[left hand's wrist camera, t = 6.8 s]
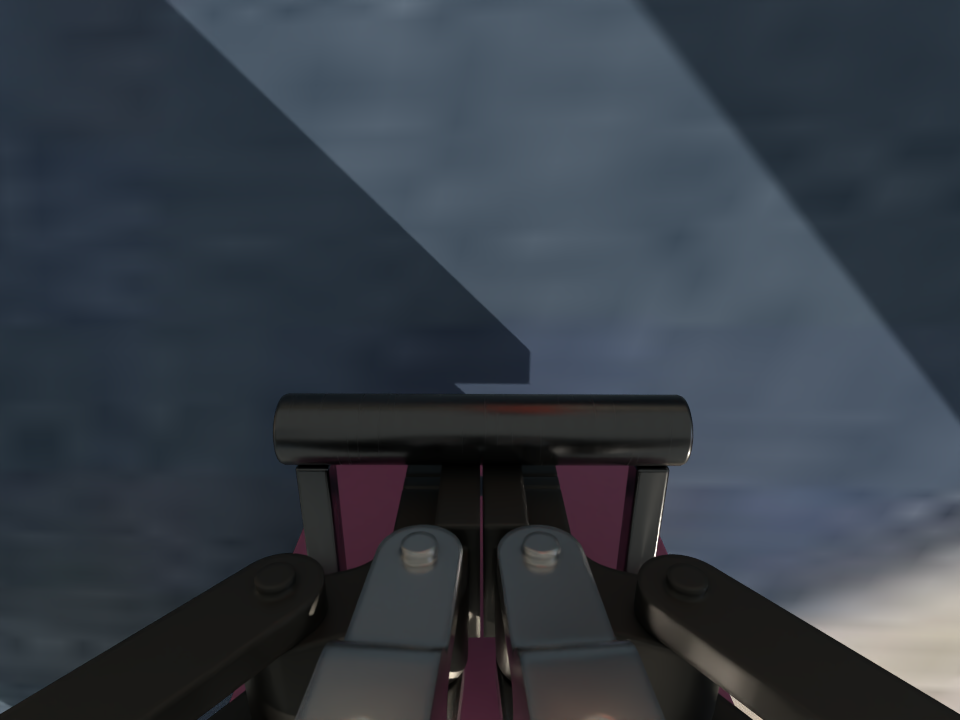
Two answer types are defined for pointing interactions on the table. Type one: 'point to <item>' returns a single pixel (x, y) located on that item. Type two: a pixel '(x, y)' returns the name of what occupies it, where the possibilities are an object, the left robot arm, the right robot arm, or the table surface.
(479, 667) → the drawer
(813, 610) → the table surface
